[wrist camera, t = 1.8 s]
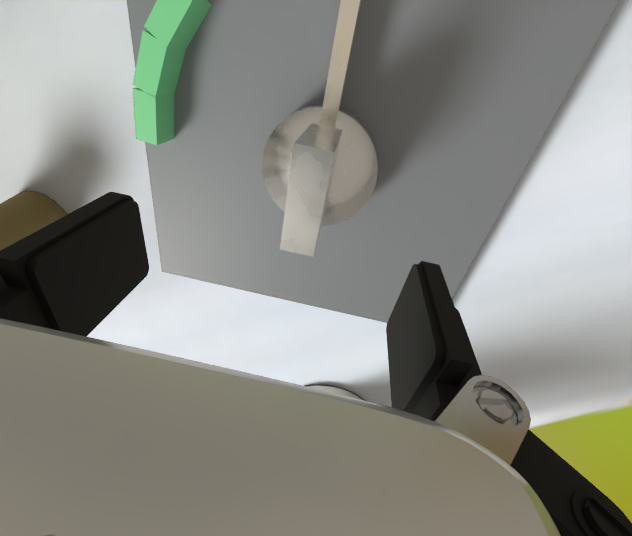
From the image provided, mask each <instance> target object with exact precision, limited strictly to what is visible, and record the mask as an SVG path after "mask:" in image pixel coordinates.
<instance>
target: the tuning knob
mask: <svg viewBox="0 0 632 536" xmlns="http://www.w3.org/2000/svg"><path fill="white" fill-rule="evenodd" d="M361 1H362V0H341V2H340V8H339V14H338V20H337V25H336V31H335V37H334V43H333V49H332V55H331V60H330V66H329V72H328V78H327V84H326V90H325V96H324V101H323V105H312V106H308V107H305V108H302V109H300V110H298V111H296V112H294V113H293V114H291V115H290V116H289V117H287V118H286V119H284V120H283V121H282V122H281V123H280V124H278V125H277V127H276V128H275V129H274V130H273V132H272V133H271V135H270V136H269V138H268V140H267V143H266V145H265V148H264V152H263V158H262V172H263V178H264V182H265V185H266V188H267V190H268V192H269V194H270V196H271V197H272V199H273V200H274V202H275V203H276V204H277V205H278V207H279V208H280V209H281V210H283V211H284V212H285V213H284V221H283V228H282V236H281V244H280V250H285V251H289V252H294V253H298V254H302V255H307V256H311V257H313V255H314V252H315V248H316V244H317V241H318V237H319V233H320V230H321V226H326V225H333V224H337V223H340V222H343V221H345V220H347V219H349V218H351V217H352V216H354V215H355V214H356V213H358V212H359V211H360V210H361V209H362V208H363V207H364V206H365V204H366V203H367V202H368V200H369V199H370V197H371V195H372V193H373V190H374V188H375V184H376V180H377V172H378V166H377V156H376V150H375V146H374V142H373V140H372V137H371V135H370V133H369V132H368V130H367V128H366V127H365V126H364V125H363V123H362V122H361V121H360V120H359V119H358V118H357V117H355V116H354V115H353V114H351V113H350V112H348V111H346V110H344V109H342V108H340V106H341V101H342V96H343V91H344V86H345V81H346V76H347V71H348V66H349V61H350V56H351V51H352V46H353V41H354V36H355V31H356V26H357V21H358V16H359V11H360V6H361Z"/></svg>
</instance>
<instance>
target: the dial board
mask: <svg viewBox="0 0 632 536" xmlns="http://www.w3.org/2000/svg"><path fill="white" fill-rule="evenodd" d="M340 2H341V0H127V5H128V13H129V21H130V29H131V36H132V44H133V52H134V60H135V67H136V70H135V75H134V81H133V85H134V86H136V87H137V88H133V102H134V117H135V132H136V139H138V140H141V141H144V142H145V145H146V152H147V160H148V168H149V175H150V183H151V191H152V199H153V206H154V214H155V222H156V230H157V237H158V245H159V253H160V260H161V268H162V272H166V273H170V274H175V275H179V276H184V277H188V278H192V279H197V280H201V281H206V282H210V283H214V284H219V285H223V286H228V287H232V288H236V289H241V290H245V291H250V292H254V293H258V294H263V295H267V296H272V297H276V298H280V299H285V300H289V301H294V302H298V303H302V304H307V305H311V306H316V307H320V308H324V309H329V310H333V311H338V312H342V313H346V314H351V315H355V316H360V317H364V318H368V319H373V320H377V321H382V322H386V323H388V320H389V317H390V315H391V313H392V311H393V308H394V306H395V304H396V302H397V299H398V297H399V295H400V293H401V290H402V288H403V286H404V284H405V281H406V279H407V277H408V274H409V272H410V270H411V268H412V266H413V264H419V263H420V262H421V261H425V262H430V263H434V264H438V265H440V267H441V270H442V273H443V276H444V279H445V281H446V284H447V287H448V290H449V293H450V296H451V298H452V297H453V295H454V294H455V292H456V290H457V288H458V286H459V285H460V283H461V281H462V279H463V278H464V276H465V274H466V272H467V270H468V269H469V267H470V265H471V263H472V262H473V260H474V258H475V256H476V254H477V253H478V251H479V249H480V247H481V246H482V244H483V242H484V240H485V238H486V237H487V235H488V233H489V231H490V230H491V228H492V226H493V224H494V222H495V221H496V219H497V217H498V215H499V213H500V212H501V210H502V208H503V206H504V205H505V203H506V201H507V199H508V197H509V196H510V194H511V192H512V190H513V189H514V187H515V185H516V183H517V181H518V180H519V178H520V176H521V174H522V173H523V171H524V169H525V167H526V165H527V164H528V162H529V160H530V158H531V157H532V155H533V153H534V151H535V149H536V148H537V146H538V144H539V142H540V141H541V139H542V137H543V135H544V133H545V132H546V130H547V128H548V126H549V125H550V123H551V121H552V119H553V117H554V116H555V114H556V112H557V110H558V109H559V107H560V105H561V103H562V101H563V100H564V98H565V96H566V94H567V93H568V91H569V89H570V87H571V85H572V84H573V82H574V80H575V78H576V77H577V75H578V73H579V71H580V69H581V68H582V66H583V64H584V62H585V60H586V59H587V57H588V55H589V53H590V52H591V50H592V48H593V46H594V44H595V43H596V41H597V39H598V37H599V36H600V34H601V32H602V30H603V28H604V27H605V25H606V23H607V21H608V20H609V18H610V16H611V14H612V12H613V11H614V9H615V7H616V5H617V4H618V2H619V0H362V1H361V6H360V11H359V16H358V21H357V26H356V31H355V36H354V41H353V46H352V51H351V56H350V61H349V66H348V71H347V76H346V81H345V86H344V91H343V96H342V101H341V106H340V108H342V109H344V110H346V111H348V112H350V113H351V114H353V115H354V116H355V117H357V118H358V119H359V120H360V121H361V122H362V123H363V125H364V126H365V127H366V128H367V130H368V132H369V133H370V135H371V137H372V140H373V142H374V146H375V150H376V156H377V166H378V172H377V180H376V184H375V188H374V190H373V193H372V195H371V197H370V199H369V200H368V202H367V203H366V204H365V206H364V207H363V208H362V209H361V210H360V211H359V212H358V213H356V214H355V215H354V216H352V217H351V218H349V219H347V220H345V221H343V222H340V223H337V224H333V225H326V226H321V230H320V233H319V237H318V241H317V244H316V248H315V252H314V255H313V257H311V256H307V255H302V254H298V253H294V252H289V251H285V250H280V244H281V236H282V228H283V221H284V213H285V212H284V211H283V210H281V209H280V208H279V207H278V205H277V204H276V203H275V202H274V200H273V199H272V197H271V196H270V194H269V192H268V190H267V188H266V185H265V182H264V178H263V172H262V158H263V152H264V148H265V145H266V143H267V140H268V138H269V136H270V135H271V133H272V132H273V130H274V129H275V128H276V127H277V125H278V124H280V123H281V122H282V121H283V120H284V119H286V118H287V117H289V116H290V115H291V114H293V113H294V112H296V111H298V110H300V109H302V108H305V107H308V106H312V105H323V101H324V96H325V90H326V84H327V78H328V72H329V66H330V60H331V55H332V49H333V43H334V37H335V31H336V25H337V20H338V14H339V8H340Z"/></svg>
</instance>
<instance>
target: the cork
mask: <svg viewBox="0 0 632 536" xmlns="http://www.w3.org/2000/svg"><path fill="white" fill-rule="evenodd" d="M66 215H67V214H66V212H65V211H64V210H63V209H62V208H61V207H60V206H59V205H58V204H57V203H56V202H55V201H53V200H52V199H50V198H49V197H47V196H45V195H43V194H40V193H38V192H32V191H25V192H21V193H19V194H17V195H15V196H14V197H12V198H10V199H8V200H6V201H5V202H3V203H1V204H0V250H2V249H4V248H6V247H8V246H10V245H12V244H14V243H15V242H17V241H19V240H21V239H23V238H25V237H27V236H29V235H30V234H32V233H34V232H36V231H38V230H40V229H42V228H43V227H45V226H47V225H49V224H51V223H53V222H55V221H57V220H58V219H60V218H62V217H64V216H66Z"/></svg>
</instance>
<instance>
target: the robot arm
mask: <svg viewBox="0 0 632 536" xmlns="http://www.w3.org/2000/svg"><path fill="white" fill-rule="evenodd" d="M148 271H149V264H148V258H147V253H146V247H145V241H144V235H143V230H142V224H141V218H140V212H139V207H138V204H137V202H135V201H134V200H133V198H132V197H131V196H129V195H124V194H120V193H115V192H109V193H107V194H105V195H103V196H101V197H100V198H98V199H96V200H94V201H92V202H90V203H88V204H86V205H85V206H83V207H81V208H79V209H77V210H75V211H73V212H72V213H70V214H68V215H66V216H64V217H62V218H60V219H58V220H57V221H55V222H53V223H51V224H49V225H47V226H45V227H43V228H42V229H40V230H38V231H36V232H34V233H32V234H30V235H29V236H27V237H25V238H23V239H21V240H19V241H17V242H15V243H14V244H12V245H10V246H8V247H6V248H4V249H2V250H0V536H632V523H631V522H630V521H629V519H627V517H626V516H625V514H624V513H623V512H622V511H621V510H620V509H619V508H618V507H617V506H616V505H615V504H614V503H613V502H612V501H611V500H610V499H609V498H608V497H607V496H605V495H604V494H603V493H602V492H601V491H600V490H598V489H597V488H596V487H595V486H594V485H593V484H592V483H590V482H589V481H588V480H587V479H586V478H585V477H583V476H582V475H581V474H580V473H579V472H578V471H576V470H575V469H574V468H573V467H572V466H571V465H569V464H568V463H567V462H566V461H565V460H564V459H562V458H561V457H560V456H559V455H558V454H557V453H555V452H554V451H553V450H552V449H551V448H549V447H548V446H547V445H546V444H545V443H544V442H542V441H541V440H540V439H539V438H538V437H537V436H536V435H534V434H533V433H532V432H531V431H530V430H529V426H530V421H531V418H530V414H529V410H528V409H527V407H526V405H525V403H524V401H523V400H522V399H521V398H520V397H519V395H518V394H517V393H516V392H515V391H514V390H512V389H511V388H510V387H509V386H508V385H506V384H504V383H503V382H501V381H500V380H497V379H495V378H492V377H490V376H483V375H482V374H481V371H480V368H479V366H478V363H477V360H476V357H475V355H474V352H473V349H472V346H471V344H470V341H469V338H468V335H467V332H466V330H465V327H464V324H463V321H462V319H461V316H460V313H459V311H458V310H457V309H456V308H455V307H454V304H453V301H452V298H451V296H450V293H449V290H448V287H447V284H446V281H445V279H444V276H443V273H442V270H441V267H440V265H438V264H434V263H430V262H425V261H421V262H420V263H419V264H413V266H412V268H411V270H410V272H409V274H408V277H407V279H406V281H405V284H404V286H403V288H402V290H401V293H400V295H399V297H398V299H397V302H396V304H395V306H394V308H393V311H392V313H391V315H390V317H389V320H388V323H387V328H386V332H387V346H388V359H389V373H390V386H391V400H392V408H391V407H388V406H384V405H380V404H376V403H372V402H368V401H364V400H362V399H360V398H359V397H358V396H356V395H354V394H353V393H351V392H348V391H346V390H343V389H340V388H336V387H331V386H307V387H306V386H301V385H297V384H293V383H288V382H284V381H280V380H275V379H271V378H267V377H263V376H258V375H254V374H250V373H245V372H241V371H237V370H232V369H228V368H223V367H219V366H215V365H210V364H206V363H201V362H197V361H193V360H188V359H184V358H179V357H175V356H170V355H166V354H162V353H157V352H153V351H148V350H144V349H139V348H135V347H131V346H126V345H121V344H117V343H112V342H108V341H103V340H99V339H94V338H90V337H86V336H87V335H88V334H89V333H90V332H91V331H92V330H93V329H94V328H95V327H96V326H97V325H98V324H99V323H100V322H101V321H102V320H103V319H104V318H105V317H106V316H107V315H108V314H109V313H110V312H111V311H112V310H113V309H114V308H115V307H116V306H117V305H118V304H119V303H120V302H121V301H122V300H123V299H124V298H125V297H126V296H127V295H128V294H129V293H130V292H131V291H132V290H133V289H134V288H135V287H136V286H137V285H138V284H139V283H140V282H141V281H142V280H143V279H144V278H145V277H146V276H147V274H148Z"/></svg>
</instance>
